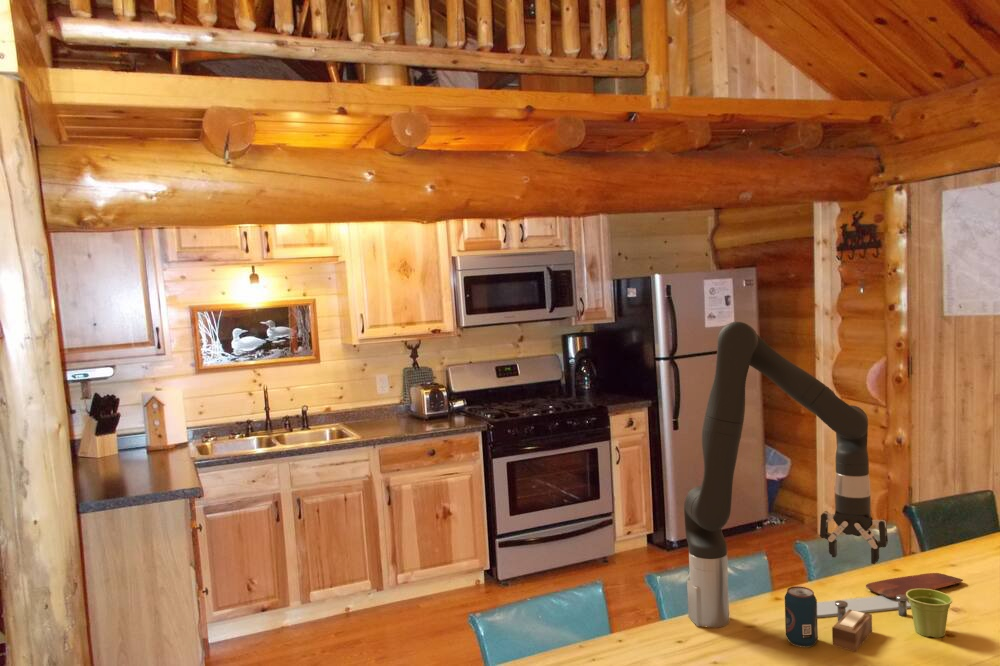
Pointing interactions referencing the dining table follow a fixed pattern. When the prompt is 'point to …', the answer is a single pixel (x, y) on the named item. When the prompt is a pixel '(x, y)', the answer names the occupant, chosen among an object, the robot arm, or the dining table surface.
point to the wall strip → (859, 605)
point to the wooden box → (852, 630)
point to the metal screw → (841, 608)
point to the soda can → (801, 616)
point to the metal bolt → (902, 604)
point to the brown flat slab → (911, 584)
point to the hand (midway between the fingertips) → (853, 559)
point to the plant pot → (929, 611)
